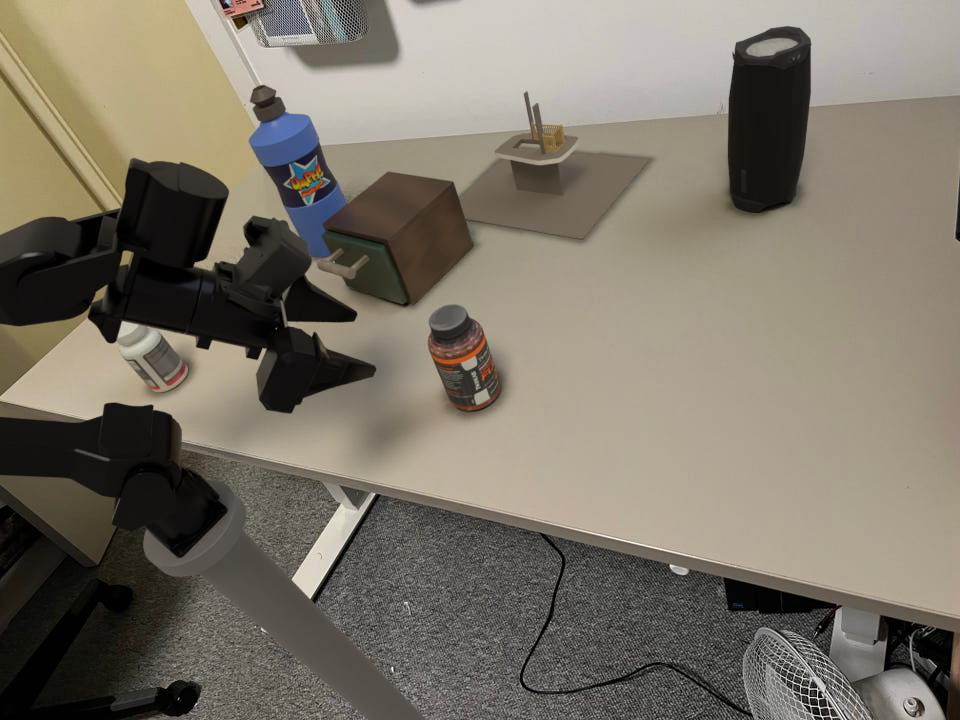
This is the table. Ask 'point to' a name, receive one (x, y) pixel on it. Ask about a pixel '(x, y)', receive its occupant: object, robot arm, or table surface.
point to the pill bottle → (151, 356)
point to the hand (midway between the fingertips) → (364, 342)
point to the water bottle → (296, 167)
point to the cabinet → (410, 227)
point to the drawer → (363, 266)
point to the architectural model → (548, 183)
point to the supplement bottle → (462, 358)
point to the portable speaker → (768, 116)
